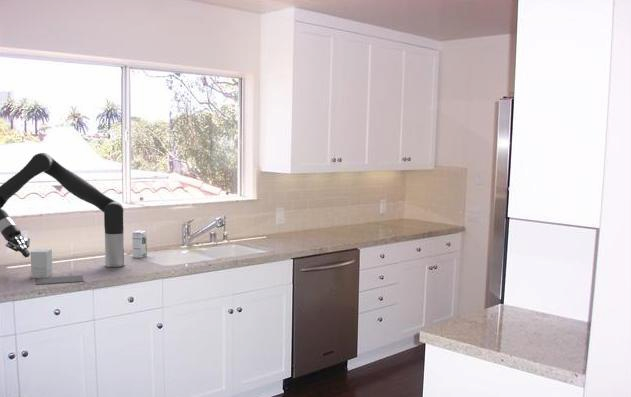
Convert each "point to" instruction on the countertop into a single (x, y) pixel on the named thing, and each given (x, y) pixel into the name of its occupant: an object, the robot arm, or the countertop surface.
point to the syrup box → (139, 244)
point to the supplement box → (41, 263)
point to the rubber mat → (59, 280)
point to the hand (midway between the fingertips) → (27, 256)
